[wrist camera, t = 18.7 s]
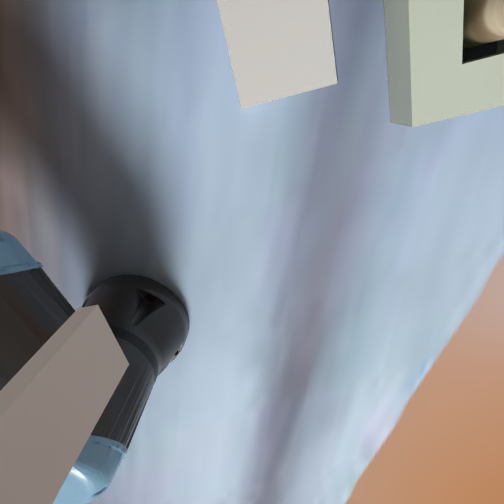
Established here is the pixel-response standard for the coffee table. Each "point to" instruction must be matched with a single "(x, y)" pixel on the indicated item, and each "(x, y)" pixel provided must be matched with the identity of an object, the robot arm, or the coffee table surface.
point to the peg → (482, 22)
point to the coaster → (278, 47)
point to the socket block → (436, 64)
